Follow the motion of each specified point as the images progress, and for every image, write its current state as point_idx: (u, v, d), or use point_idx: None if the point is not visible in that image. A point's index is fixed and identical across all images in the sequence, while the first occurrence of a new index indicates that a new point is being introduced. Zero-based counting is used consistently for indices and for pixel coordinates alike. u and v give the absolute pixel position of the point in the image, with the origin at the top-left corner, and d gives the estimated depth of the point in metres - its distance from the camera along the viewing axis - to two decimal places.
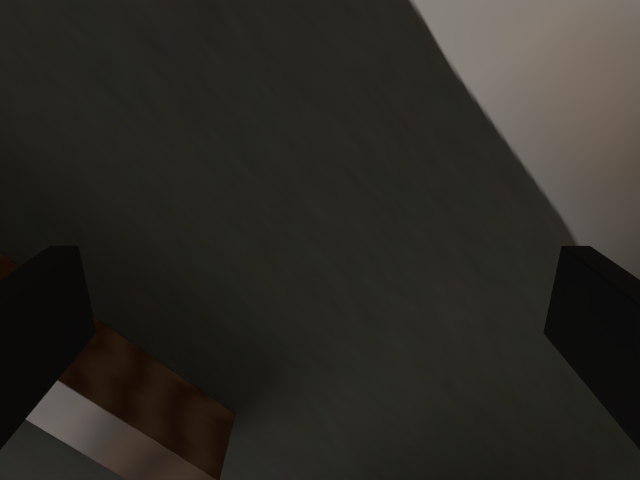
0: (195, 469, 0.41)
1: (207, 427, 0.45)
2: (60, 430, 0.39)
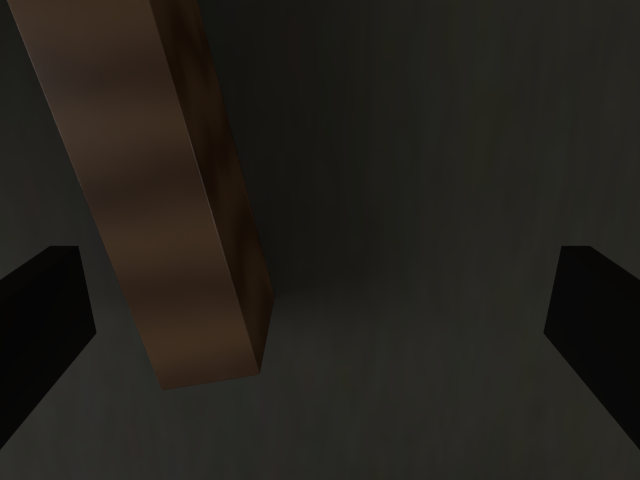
0: (244, 335, 0.23)
1: (258, 288, 0.28)
2: (83, 134, 0.20)
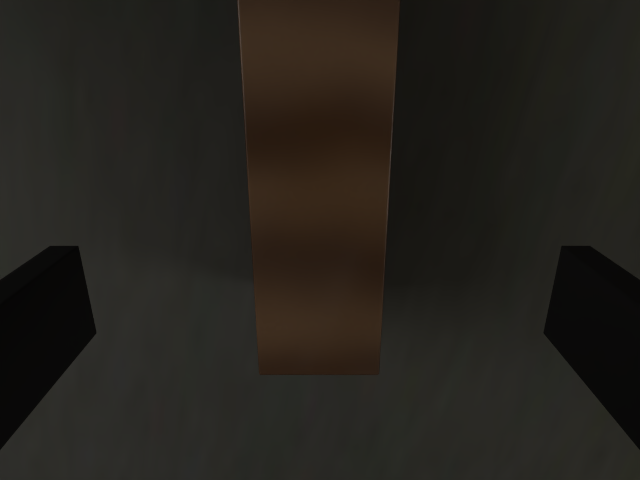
0: (376, 327, 0.20)
1: None
2: (268, 49, 0.16)
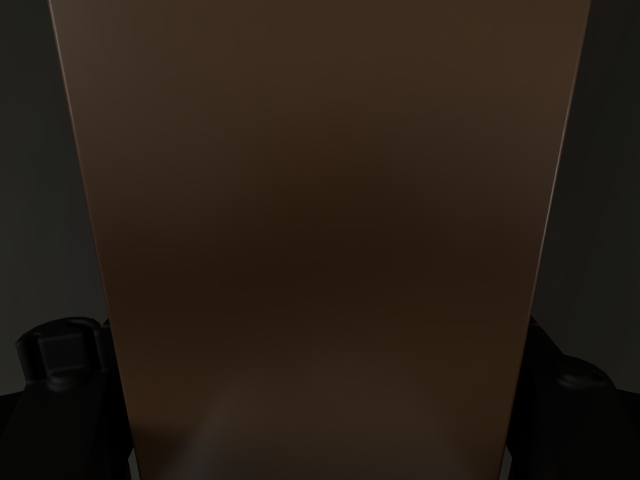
0: None
1: None
2: (146, 19, 0.05)
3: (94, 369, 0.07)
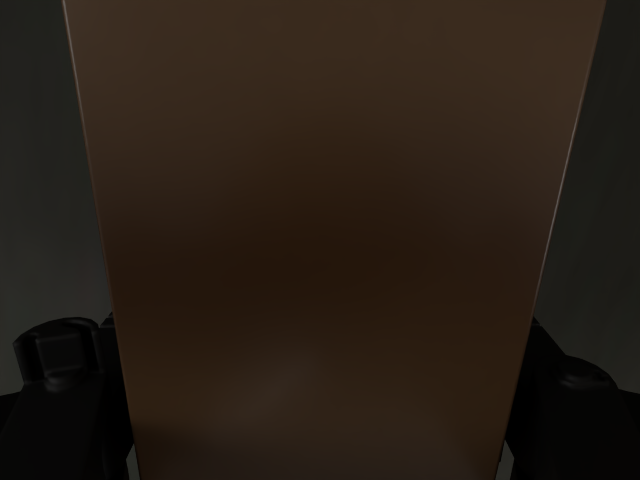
0: None
1: None
2: (158, 8, 0.05)
3: (92, 369, 0.07)
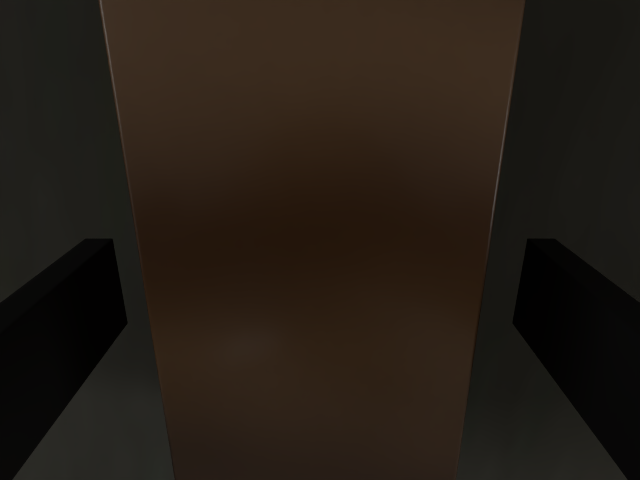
0: None
1: None
2: (178, 36, 0.06)
3: None
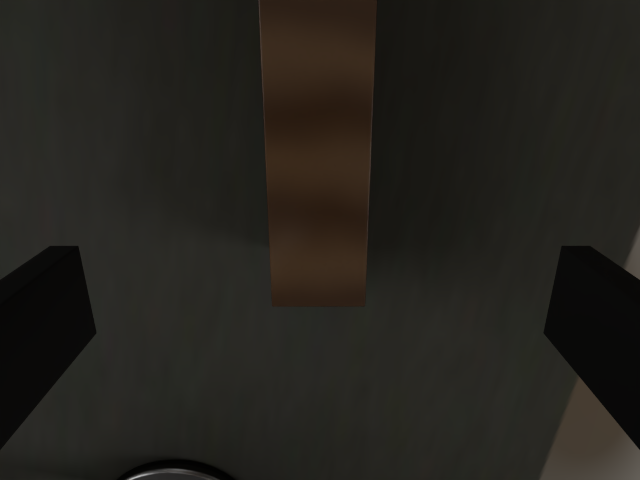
0: (363, 267, 0.26)
1: None
2: (281, 54, 0.22)
3: None
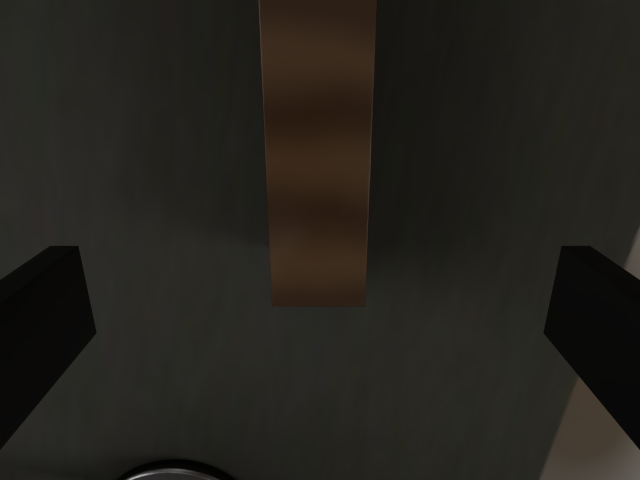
0: (362, 267, 0.26)
1: None
2: (281, 54, 0.22)
3: None
